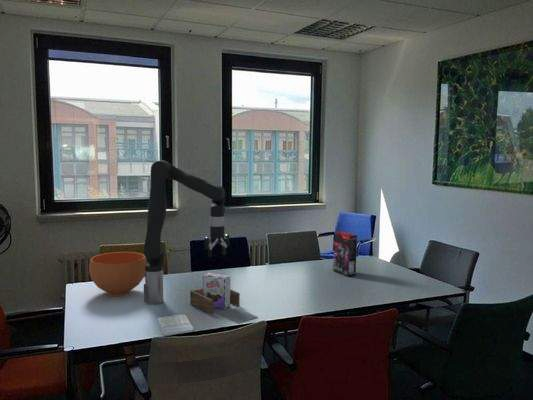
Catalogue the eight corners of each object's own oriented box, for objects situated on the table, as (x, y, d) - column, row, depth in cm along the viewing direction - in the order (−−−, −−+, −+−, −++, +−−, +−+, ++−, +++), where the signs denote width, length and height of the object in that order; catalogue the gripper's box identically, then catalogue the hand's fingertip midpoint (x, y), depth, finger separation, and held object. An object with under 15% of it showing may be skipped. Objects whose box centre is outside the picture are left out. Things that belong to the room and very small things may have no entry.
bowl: (156, 288, 262) (155, 253, 259) (127, 304, 233) (126, 266, 231) (111, 283, 270) (111, 250, 267) (78, 298, 241) (77, 261, 239)
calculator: (184, 317, 218) (184, 313, 218) (194, 332, 199) (194, 328, 199) (157, 320, 213) (157, 316, 213) (164, 336, 194) (164, 332, 194)
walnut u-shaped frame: (210, 313, 221) (210, 300, 221) (190, 303, 236) (190, 290, 235) (239, 306, 233) (239, 293, 232) (218, 296, 247) (218, 284, 247)
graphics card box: (332, 271, 306) (333, 231, 303) (340, 269, 309) (341, 231, 306) (348, 277, 291) (349, 236, 288) (356, 276, 294) (358, 235, 291)
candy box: (202, 305, 234) (202, 274, 232) (208, 302, 239) (208, 271, 237) (224, 309, 227) (224, 278, 226) (230, 306, 233) (230, 275, 231)
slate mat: (238, 323, 209) (238, 322, 209) (217, 313, 222) (217, 312, 222) (257, 317, 217) (257, 316, 217) (236, 308, 230) (236, 307, 230)
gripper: (209, 227, 223) (209, 258, 225) (232, 224, 232) (232, 255, 234) (201, 225, 229) (201, 256, 231) (224, 222, 238) (224, 252, 240)
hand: (217, 255), depth 232 cm, fingers open, 8 cm apart
